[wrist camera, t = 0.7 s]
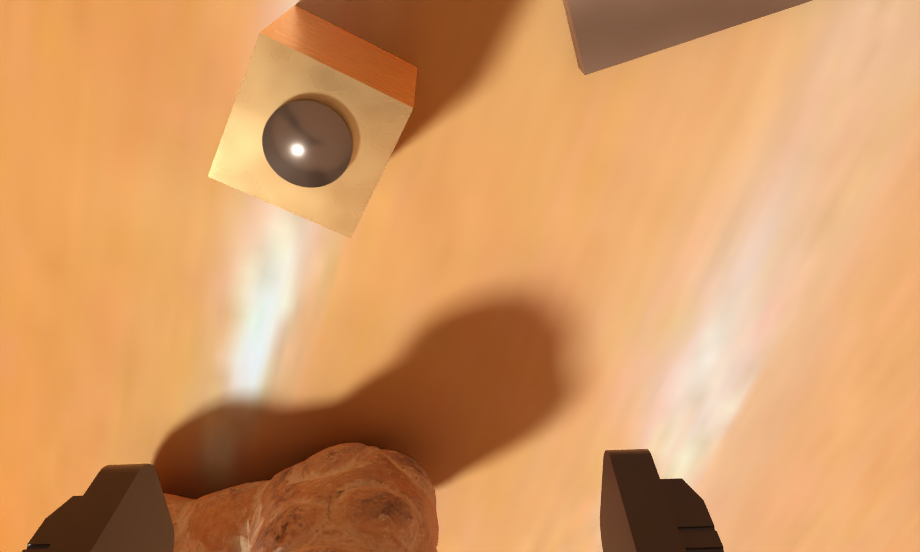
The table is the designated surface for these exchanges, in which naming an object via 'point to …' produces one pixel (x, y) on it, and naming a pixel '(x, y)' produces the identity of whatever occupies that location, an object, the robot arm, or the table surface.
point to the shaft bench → (652, 25)
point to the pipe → (317, 508)
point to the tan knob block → (315, 120)
